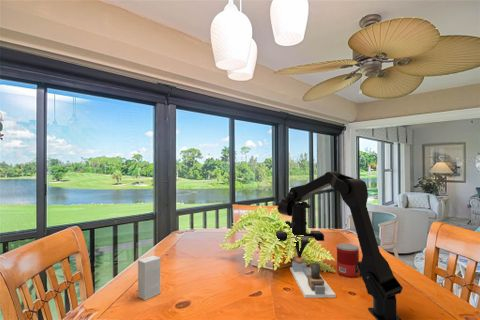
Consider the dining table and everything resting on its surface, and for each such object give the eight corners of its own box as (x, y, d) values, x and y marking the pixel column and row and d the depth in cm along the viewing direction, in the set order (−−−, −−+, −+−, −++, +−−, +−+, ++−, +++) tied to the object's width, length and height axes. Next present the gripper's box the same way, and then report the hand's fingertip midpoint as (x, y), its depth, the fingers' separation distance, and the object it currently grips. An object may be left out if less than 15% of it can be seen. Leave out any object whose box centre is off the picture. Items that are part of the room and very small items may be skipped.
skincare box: (153, 289, 90) (154, 254, 90) (160, 293, 87) (161, 257, 88) (137, 296, 85) (137, 259, 86) (144, 301, 83) (144, 262, 83)
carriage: (324, 289, 88) (324, 267, 88) (311, 290, 87) (311, 267, 88) (319, 283, 93) (319, 261, 93) (307, 283, 92) (307, 261, 93)
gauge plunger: (302, 262, 104) (302, 258, 104) (296, 262, 104) (296, 258, 104) (301, 260, 106) (301, 256, 106) (295, 260, 106) (295, 256, 106)
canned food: (361, 279, 99) (360, 249, 99) (338, 277, 101) (338, 248, 101) (356, 271, 107) (356, 243, 107) (335, 269, 108) (335, 242, 109)
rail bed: (335, 297, 85) (335, 285, 85) (304, 297, 85) (304, 285, 85) (314, 269, 108) (314, 259, 108) (290, 269, 108) (290, 259, 108)
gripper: (315, 214, 114) (316, 250, 113) (272, 214, 113) (273, 250, 113) (324, 219, 102) (324, 259, 102) (277, 219, 102) (277, 260, 102)
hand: (299, 257), depth 105 cm, fingers closed, pressing on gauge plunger
